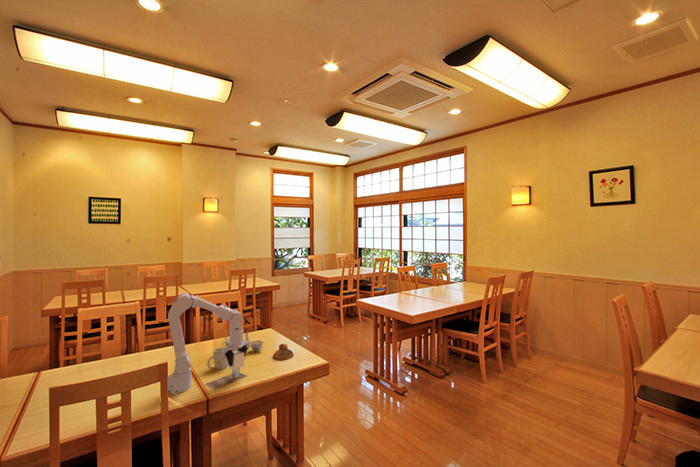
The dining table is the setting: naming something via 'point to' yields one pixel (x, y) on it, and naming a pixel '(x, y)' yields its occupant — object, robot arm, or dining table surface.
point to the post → (236, 373)
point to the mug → (218, 359)
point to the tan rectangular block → (237, 360)
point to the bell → (283, 353)
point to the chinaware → (254, 344)
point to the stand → (223, 381)
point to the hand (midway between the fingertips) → (235, 363)
